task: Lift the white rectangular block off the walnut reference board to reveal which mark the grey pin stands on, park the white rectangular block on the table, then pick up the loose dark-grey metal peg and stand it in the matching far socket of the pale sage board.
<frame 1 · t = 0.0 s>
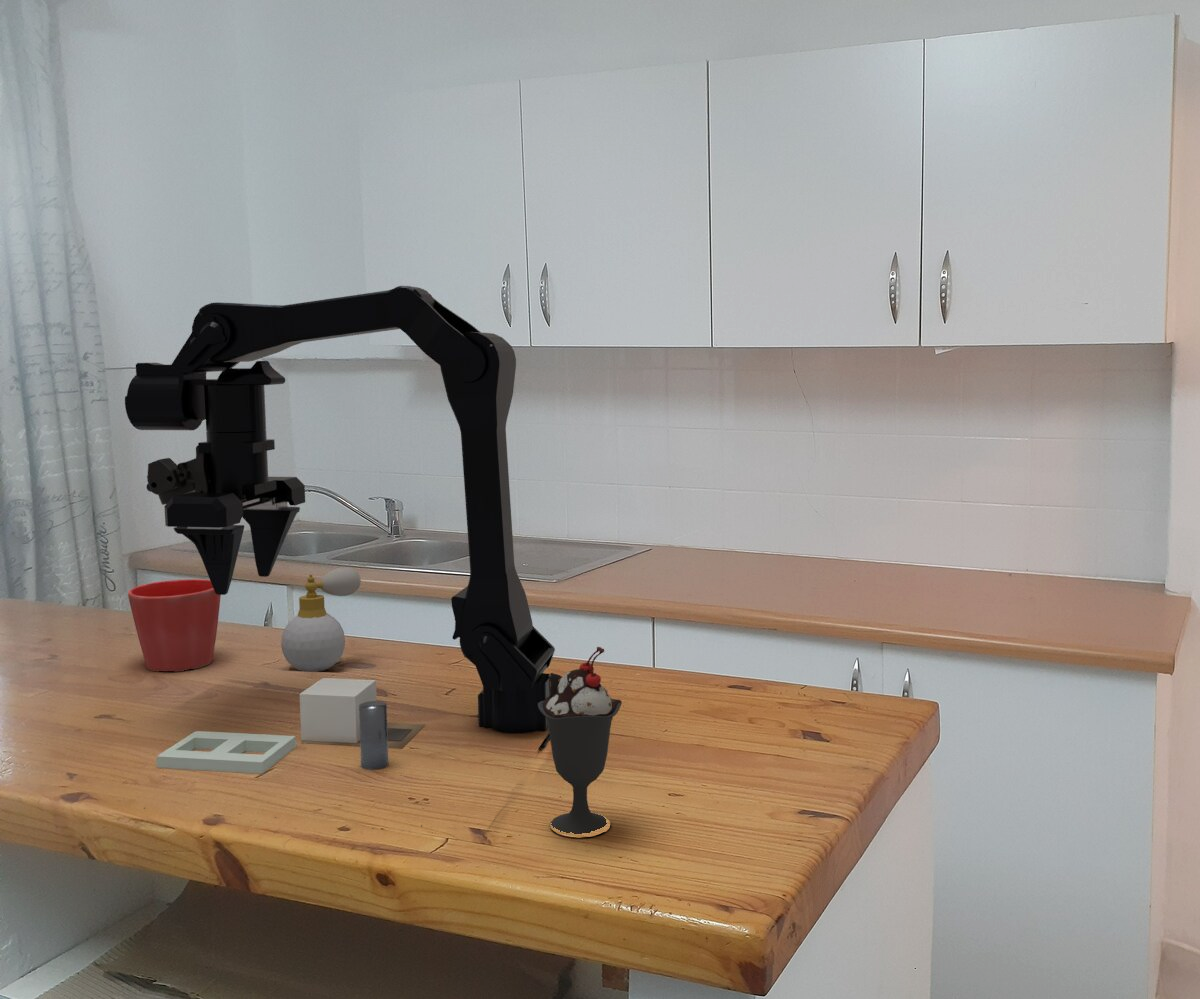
hand: (243, 585, 118), 15 cm above the table, fingers open, 9 cm apart
white rectangular block: (340, 732, 113), point 1 cm above the table, touching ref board
sundae: (581, 828, 94), on the table
peg: (375, 780, 104), on the table
perfume bottle: (320, 669, 142), on the table
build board: (229, 772, 106), on the table
flower pot: (179, 665, 144), on the table
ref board: (365, 748, 112), on the table
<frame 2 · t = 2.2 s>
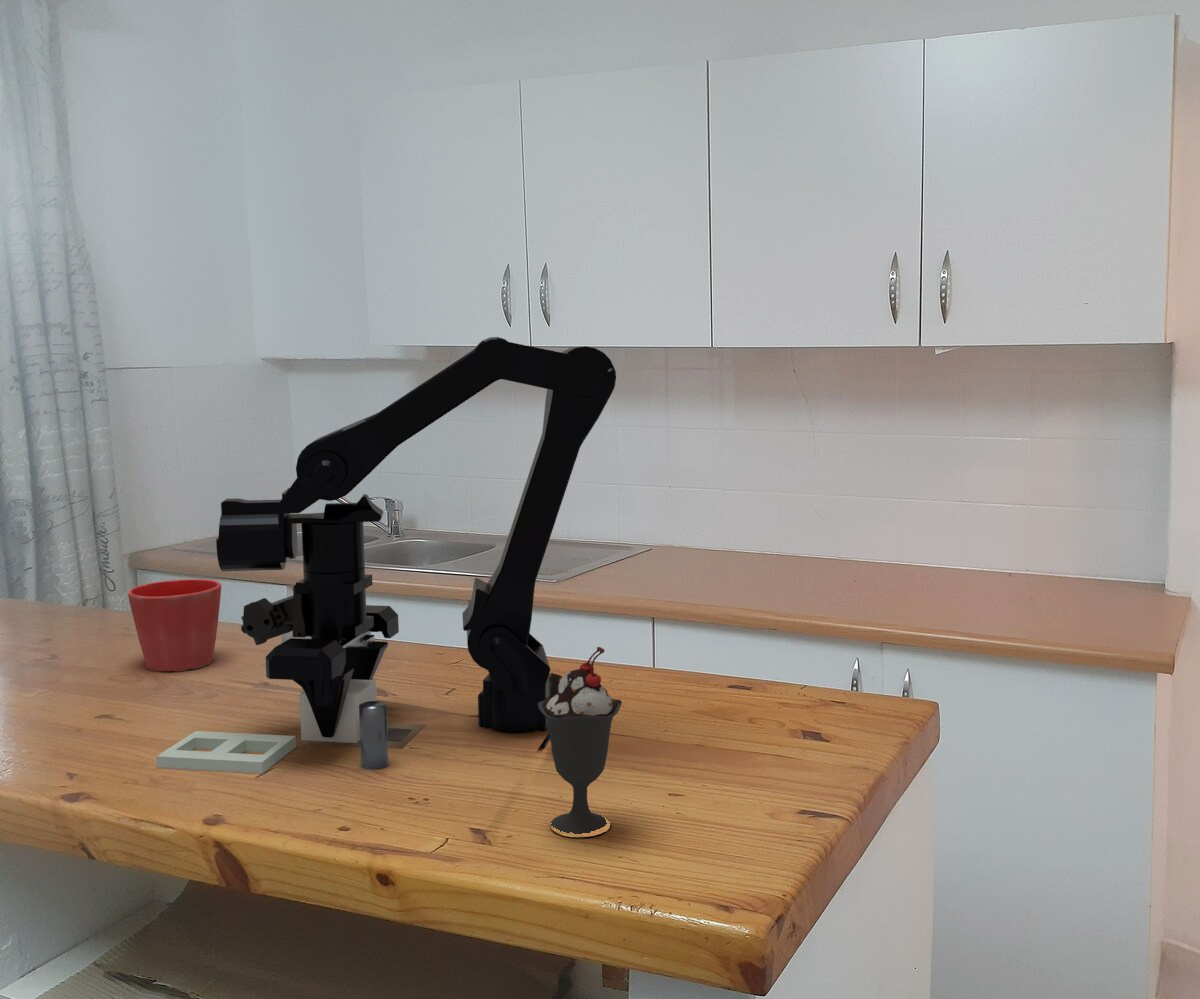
hand: (340, 727, 113), 2 cm above the table, fingers closed on white rectangular block, 5 cm apart
white rectangular block: (340, 732, 113), point 1 cm above the table, touching gripper, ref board
everything else where it was.
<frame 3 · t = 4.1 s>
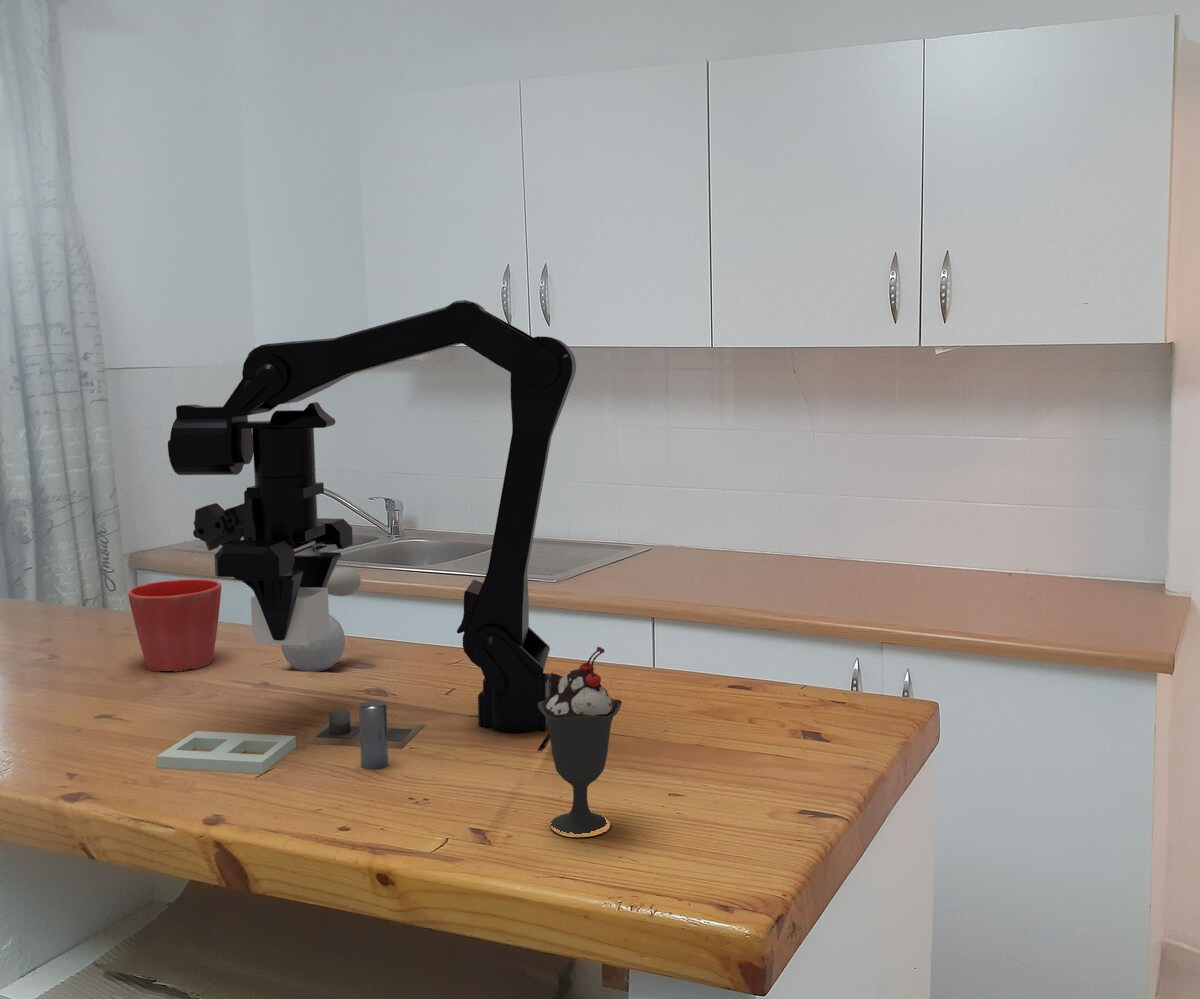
hand: (292, 632, 114), 11 cm above the table, fingers closed on white rectangular block, 5 cm apart
white rectangular block: (291, 637, 114), point 10 cm above the table, touching gripper
everything else where it was.
when the fingers open (2 cm above the table, at t = 6.0 s): white rectangular block drops 1 cm, on the table.
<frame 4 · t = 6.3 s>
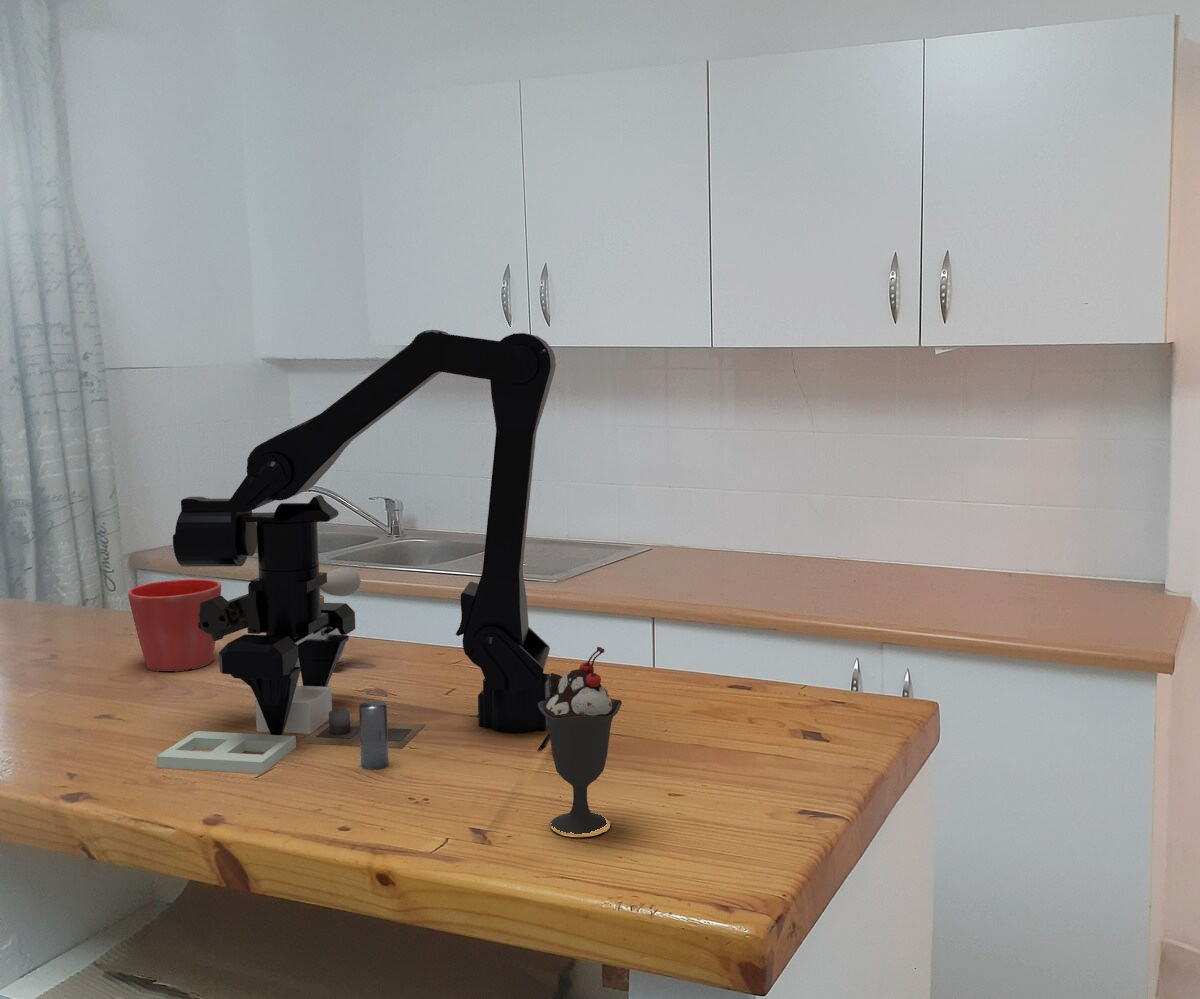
hand: (295, 721, 116), 2 cm above the table, fingers open, 8 cm apart
white rectangular block: (295, 737, 116), on the table
everything else where it was.
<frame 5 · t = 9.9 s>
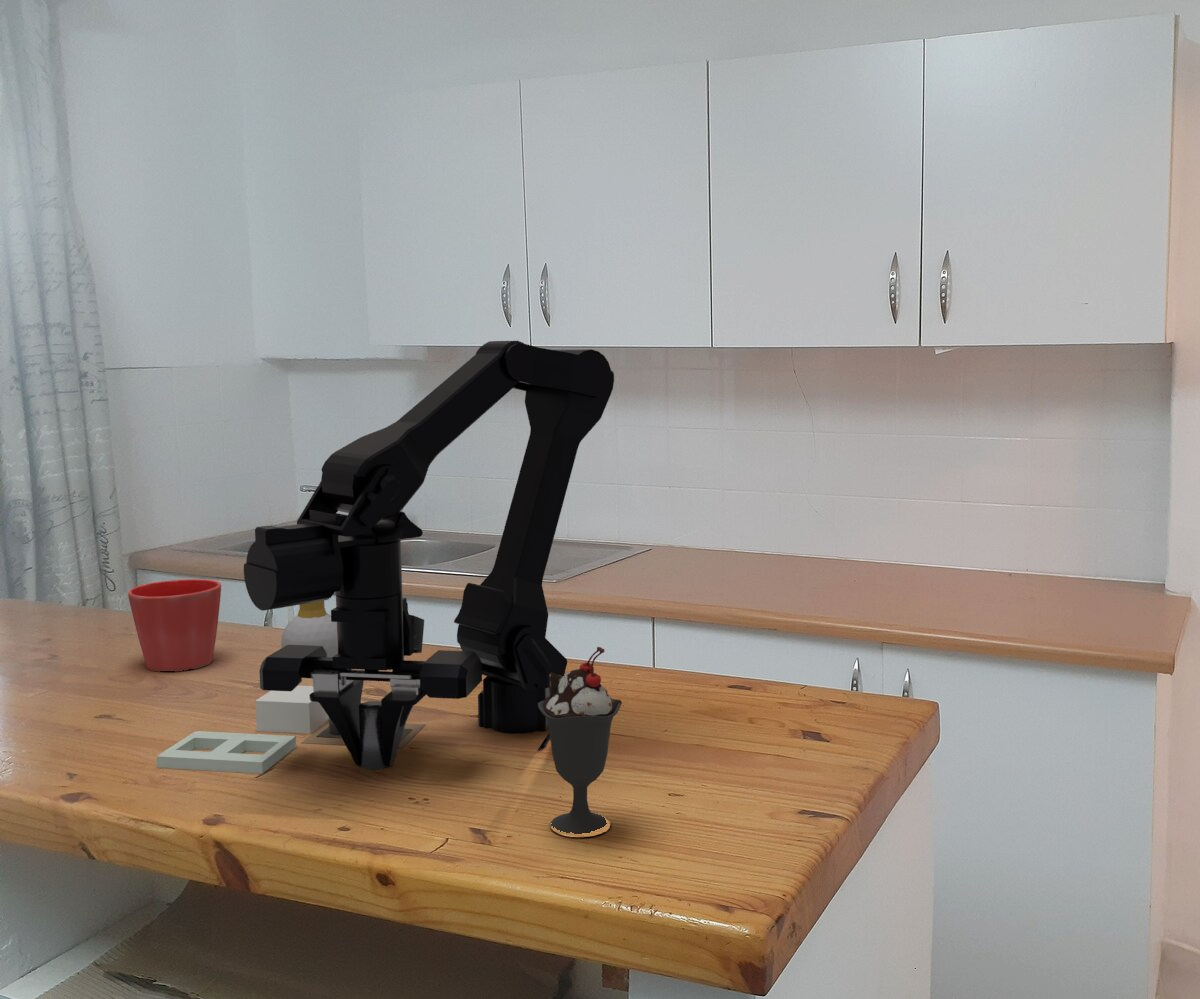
hand: (374, 764, 104), 2 cm above the table, fingers closed on peg, 2 cm apart
peg: (375, 780, 104), on the table, touching gripper
everything else where it was.
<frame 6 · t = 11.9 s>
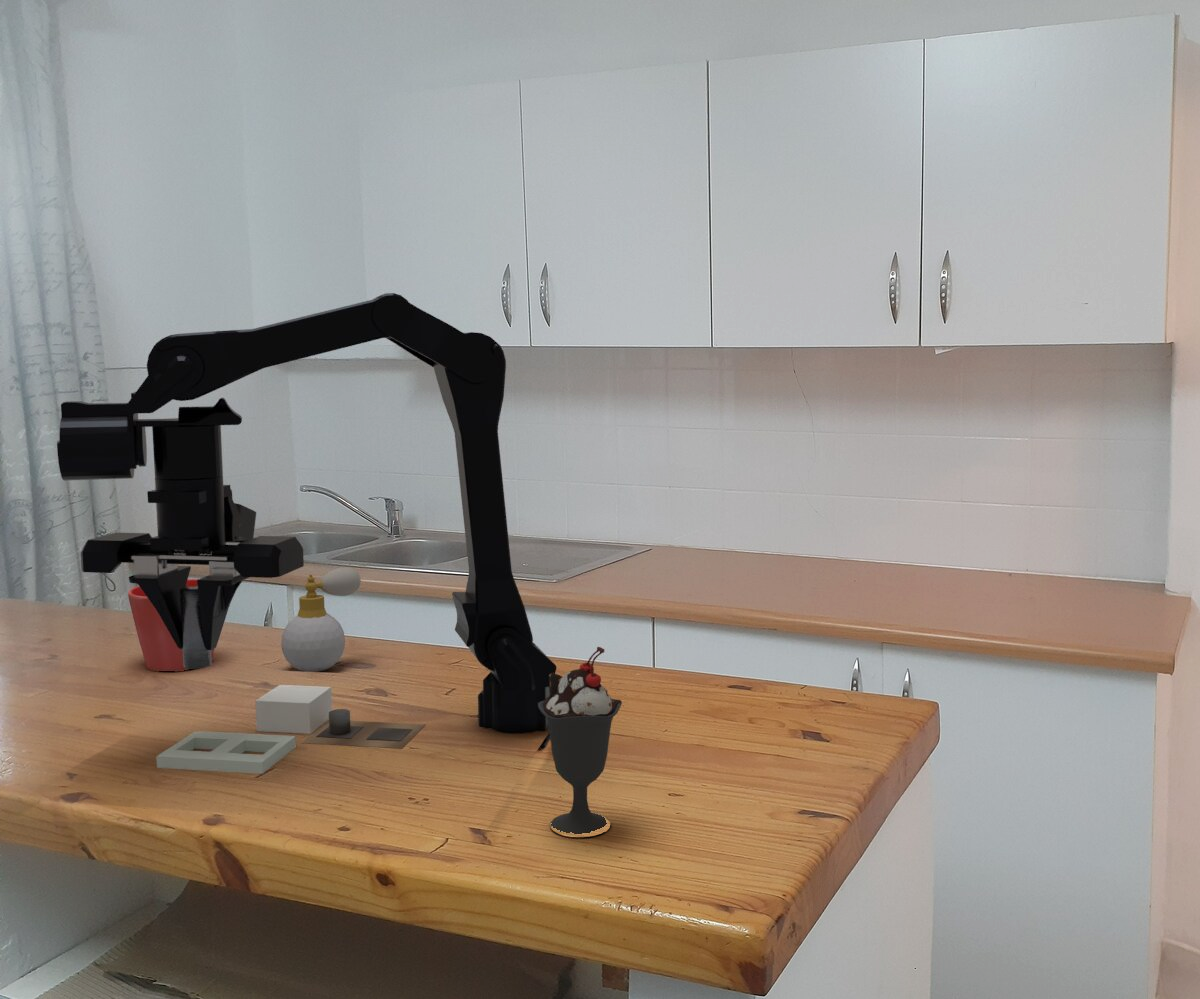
hand: (197, 648, 105), 12 cm above the table, fingers closed on peg, 2 cm apart
peg: (197, 665, 105), point 10 cm above the table, touching gripper
everything else where it was.
when the fingers open (3 cm above the table, at t = 14.0 s): peg drops 2 cm, resting in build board.
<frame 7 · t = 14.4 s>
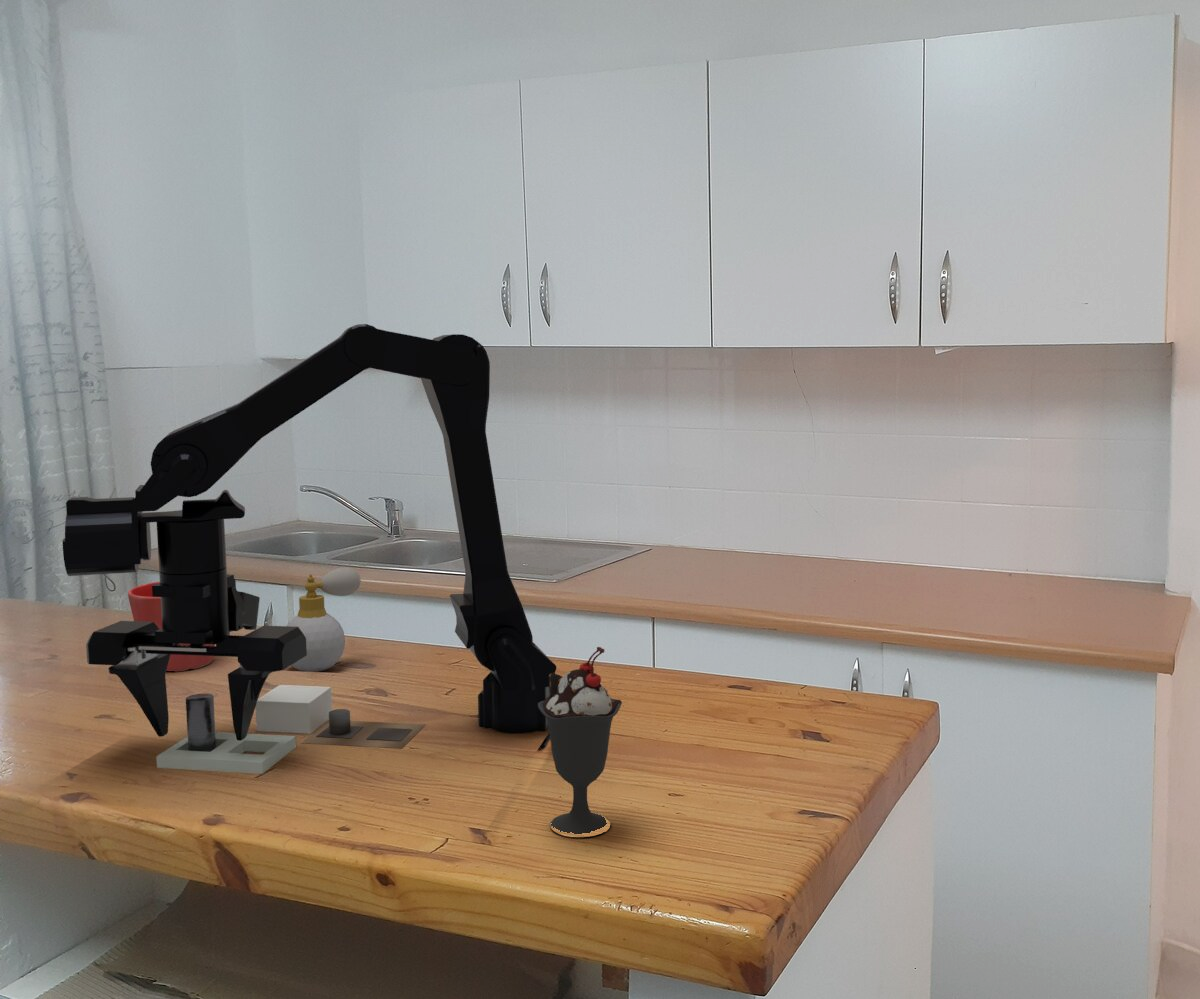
hand: (202, 737, 106), 3 cm above the table, fingers open, 7 cm apart
peg: (203, 771, 107), resting in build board
everything else where it was.
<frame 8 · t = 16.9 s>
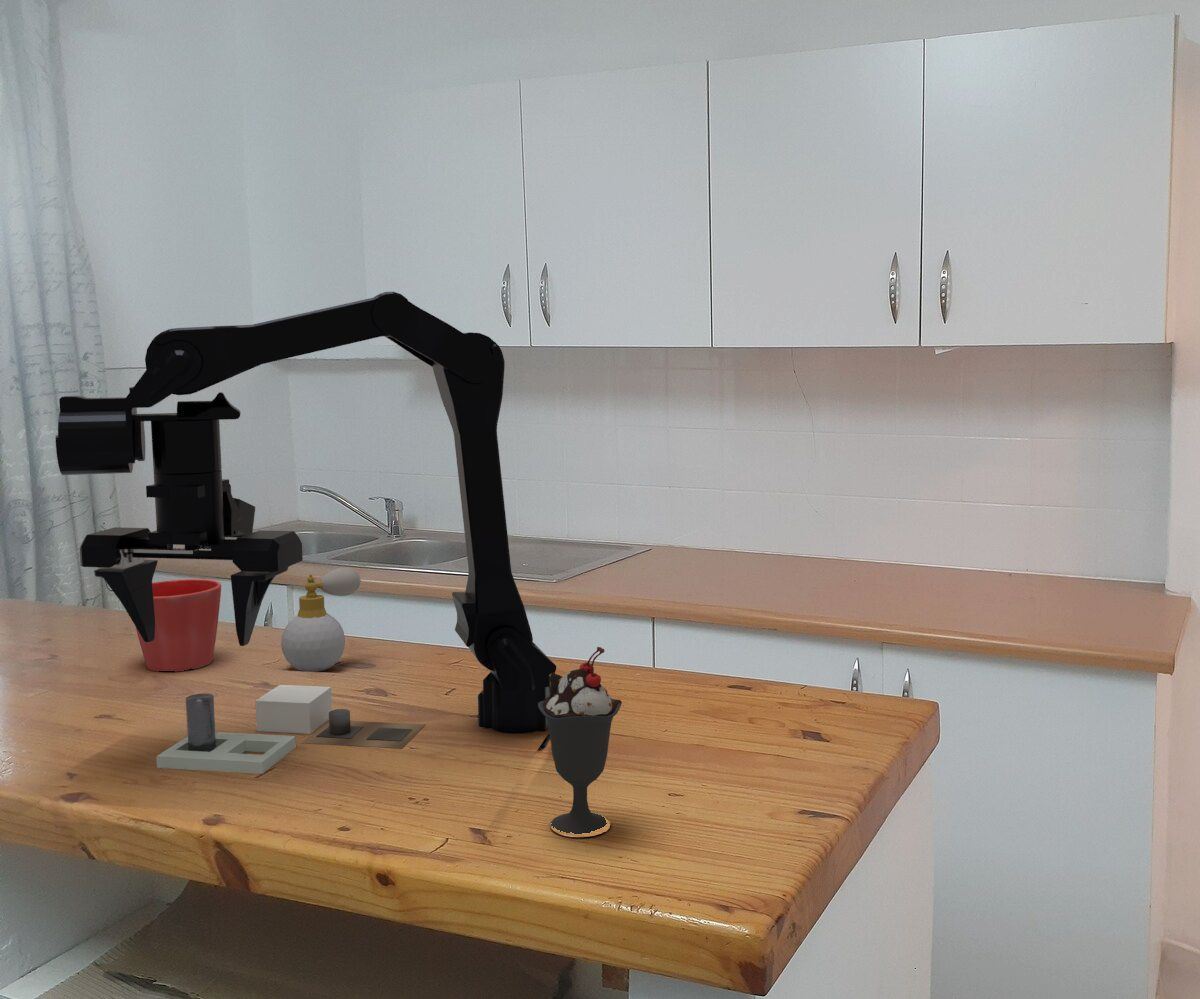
hand: (196, 643, 105), 12 cm above the table, fingers open, 9 cm apart
nothing on the table moved.
at the end: peg 0.1 cm from the target spot on the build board, point 0.0 cm above the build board's base; peg tilted 0°; white rectangular block moved 6.1 cm from its start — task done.
